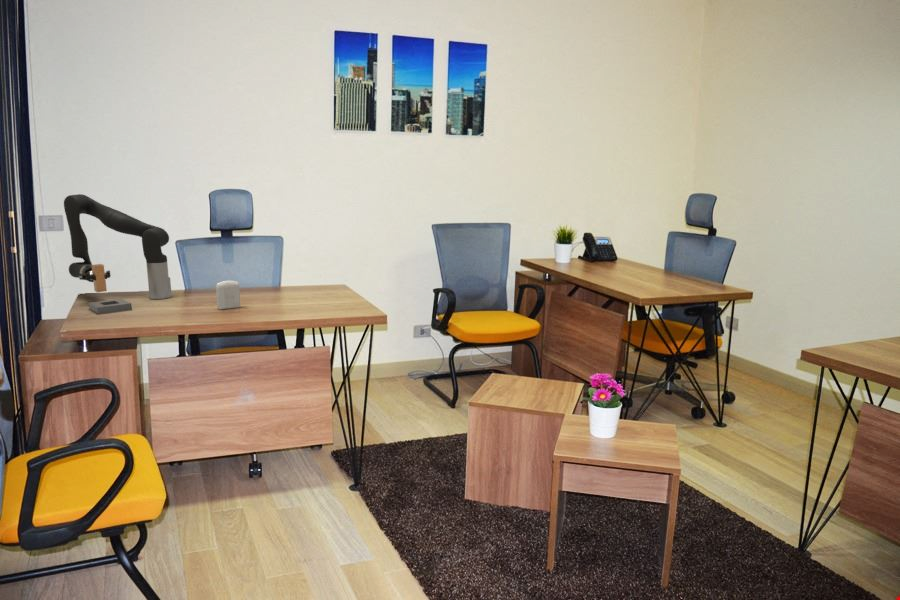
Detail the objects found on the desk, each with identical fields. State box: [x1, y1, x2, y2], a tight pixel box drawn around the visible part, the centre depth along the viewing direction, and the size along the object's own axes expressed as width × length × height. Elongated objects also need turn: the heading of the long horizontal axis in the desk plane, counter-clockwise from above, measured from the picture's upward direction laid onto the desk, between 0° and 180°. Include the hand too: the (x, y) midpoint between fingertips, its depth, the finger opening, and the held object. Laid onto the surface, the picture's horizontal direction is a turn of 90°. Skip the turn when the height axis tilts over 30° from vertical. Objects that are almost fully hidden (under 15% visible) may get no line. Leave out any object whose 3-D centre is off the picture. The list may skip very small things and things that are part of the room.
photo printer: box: [215, 280, 241, 311], centre depth 320 cm, size 10×4×12 cm, turn 123°
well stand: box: [87, 298, 133, 315], centre depth 319 cm, size 14×14×3 cm
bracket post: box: [92, 263, 107, 293], centre depth 327 cm, size 4×4×12 cm
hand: (100, 277), depth 325 cm, fingers closed on bracket post, 4 cm apart
